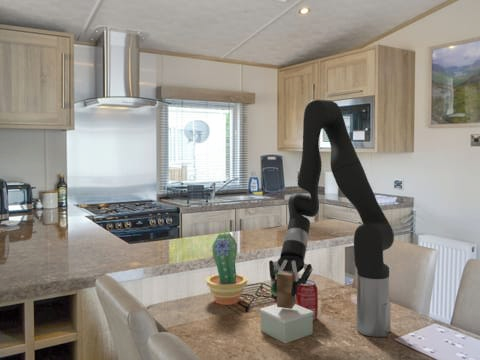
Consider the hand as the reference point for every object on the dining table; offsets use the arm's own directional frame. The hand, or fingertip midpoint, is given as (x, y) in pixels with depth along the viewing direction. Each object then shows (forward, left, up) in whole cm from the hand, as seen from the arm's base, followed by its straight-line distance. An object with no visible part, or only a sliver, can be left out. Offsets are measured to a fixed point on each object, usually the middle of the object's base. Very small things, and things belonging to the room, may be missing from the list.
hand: (284, 293), depth 127 cm
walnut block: (0, -2, -4) cm, 5 cm away
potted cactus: (+31, -16, -13) cm, 37 cm away
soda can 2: (-1, -15, -13) cm, 19 cm away
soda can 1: (+17, -32, -13) cm, 38 cm away
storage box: (0, -2, -13) cm, 13 cm away
